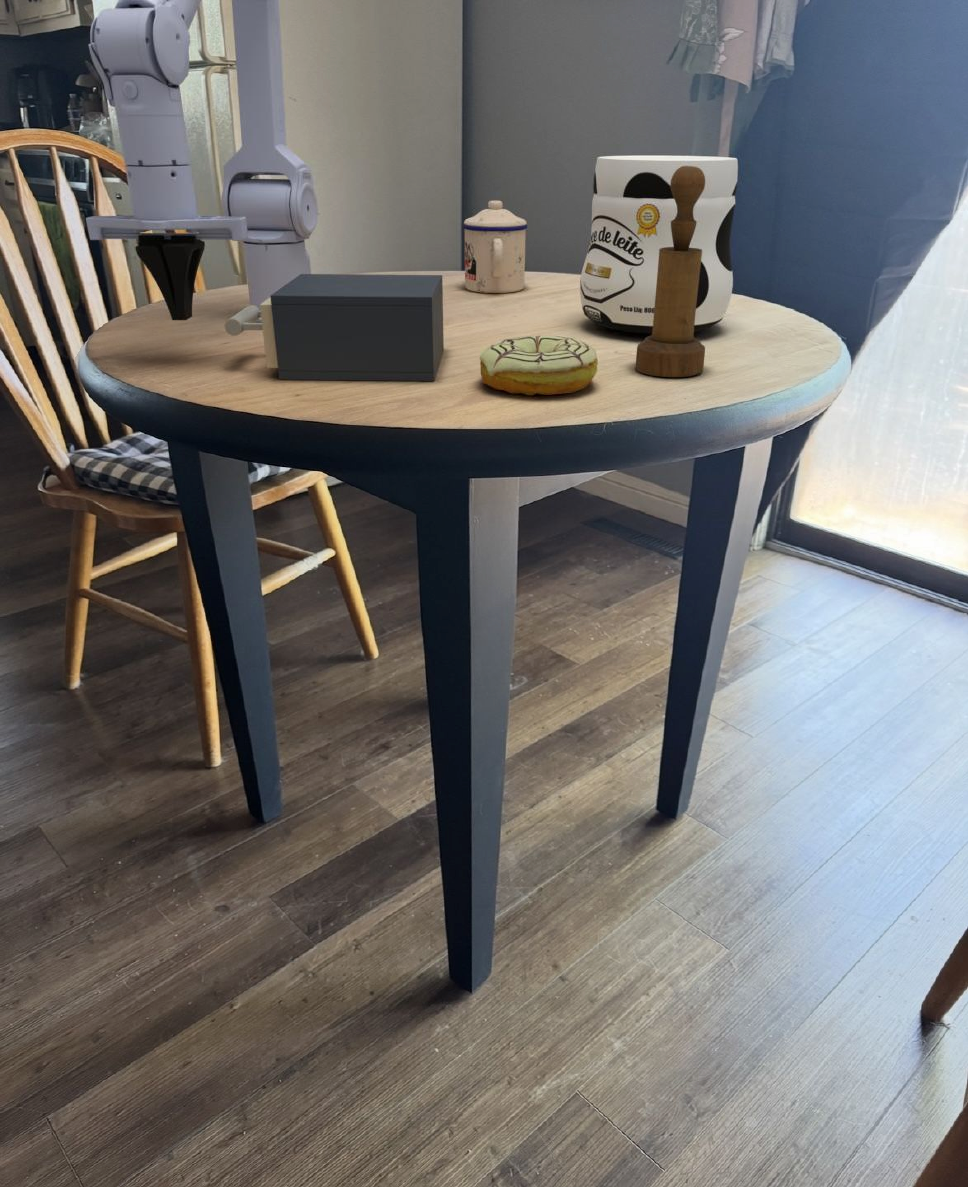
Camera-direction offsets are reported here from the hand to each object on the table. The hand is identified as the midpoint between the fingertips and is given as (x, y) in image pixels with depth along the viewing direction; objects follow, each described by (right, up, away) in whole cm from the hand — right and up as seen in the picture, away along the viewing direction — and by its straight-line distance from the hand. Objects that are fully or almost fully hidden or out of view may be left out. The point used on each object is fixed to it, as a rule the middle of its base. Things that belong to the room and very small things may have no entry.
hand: (182, 318), depth 86 cm
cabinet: (+18, -4, +1) cm, 18 cm away
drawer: (+14, -3, +1) cm, 15 cm away
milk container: (+50, +4, +17) cm, 53 cm away
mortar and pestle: (+48, -5, 0) cm, 48 cm away
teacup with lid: (+31, +16, +40) cm, 53 cm away
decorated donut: (+35, -8, -5) cm, 36 cm away
